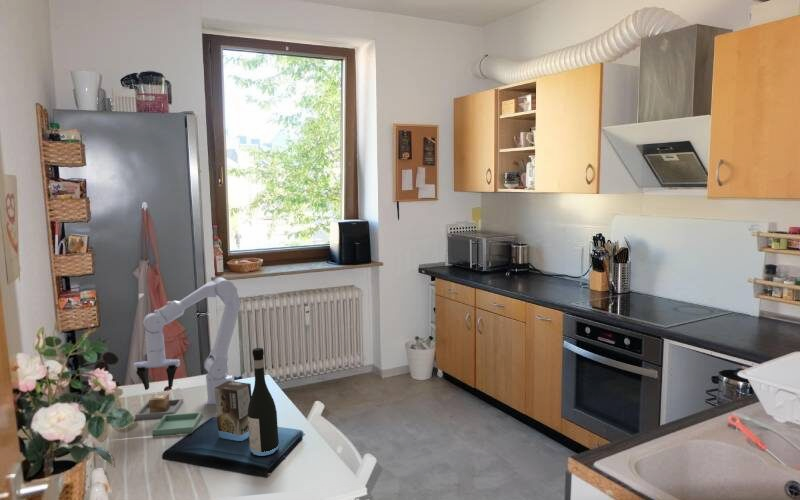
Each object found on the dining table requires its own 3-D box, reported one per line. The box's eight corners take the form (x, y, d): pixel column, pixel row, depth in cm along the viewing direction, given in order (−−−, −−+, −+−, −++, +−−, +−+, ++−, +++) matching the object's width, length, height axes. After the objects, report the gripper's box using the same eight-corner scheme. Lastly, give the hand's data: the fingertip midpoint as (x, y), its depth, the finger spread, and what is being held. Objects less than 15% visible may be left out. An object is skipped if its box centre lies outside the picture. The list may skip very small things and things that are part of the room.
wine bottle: (253, 461, 152) (246, 354, 148) (247, 449, 159) (240, 348, 156) (282, 453, 155) (275, 349, 152) (275, 442, 162) (268, 343, 159)
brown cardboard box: (169, 407, 192) (168, 393, 191) (165, 413, 187) (164, 398, 186) (154, 408, 191) (153, 394, 191) (150, 414, 186) (148, 399, 186)
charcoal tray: (183, 404, 196) (182, 398, 196) (173, 417, 184) (172, 412, 184) (147, 406, 195) (147, 401, 194) (135, 420, 183) (134, 415, 182)
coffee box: (255, 434, 169) (251, 383, 167) (241, 443, 163) (237, 390, 161) (232, 429, 173) (228, 380, 171) (217, 438, 167) (213, 387, 165)
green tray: (202, 417, 183) (202, 411, 183) (193, 433, 171) (192, 427, 171) (165, 420, 182) (164, 414, 182) (152, 436, 170) (152, 430, 170)
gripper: (181, 344, 191) (184, 382, 192) (137, 347, 189) (140, 385, 191) (175, 350, 184) (178, 389, 185) (129, 353, 182) (133, 392, 184)
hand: (159, 387), depth 188 cm, fingers open, 7 cm apart
